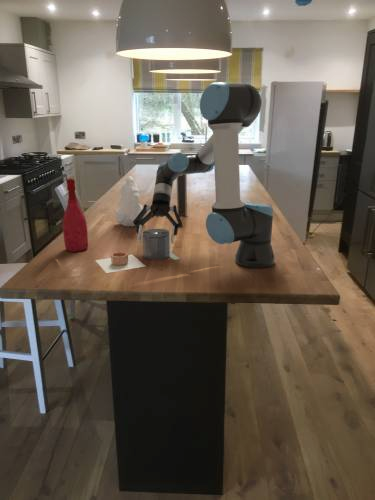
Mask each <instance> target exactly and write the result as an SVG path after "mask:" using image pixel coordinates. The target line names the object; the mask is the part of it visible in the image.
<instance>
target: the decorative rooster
mask: <svg viewBox="0 0 375 500" xmlns="http://www.w3.org/2000/svg"><path fill="white" fill-rule="evenodd" d="M140 201H141V195H140V190H139V186H138V185H137V183H136V182H135V179H134V178H133V176H131V175H130V176H127V177H126V178H125V181H124V182H123V183H122V185H121V189H120V200H119V203H118V206H119V207H118V208H117V209H116V211H115V220H116V222H117V223H118V224H120V225H122V226H123V227H130V226H131V227H133V226H134V227H136V226H135V225H134V223H133V221H134V220H135V219H136V217H137V216H138V215H139V213H140V212H141V211H142V209H143V207H144V206H143V205H142V204H141V202H140ZM146 215H147V213H146V214H145V215H144V217H145V216H146ZM144 217H143V218H144Z"/></svg>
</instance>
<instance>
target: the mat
mask: <svg viewBox="0 0 375 500" xmlns="http://www.w3.org/2000/svg"><path fill="white" fill-rule="evenodd" d="M169 258H170V259H172V260H175V261H177V260H180V259H181V258H180V257H179V256H176V255H175V253H173V252H171V251H170V256H169Z"/></svg>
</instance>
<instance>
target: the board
mask: <svg viewBox="0 0 375 500" xmlns="http://www.w3.org/2000/svg"><path fill="white" fill-rule="evenodd" d="M94 261H95V262H96V263H97V265H98V266H99V267H100V268H101V269H102V270H103V272H105V273H106V274H110V273H115V272H116V273H117V272H121V271H127V270H133V269H138V268H139V269H140V268H144V267H146V265H145V264H144V263H142V261H140V260H139V259H138V258H137V257H136V256H134V255H133V254H128V263H127V264H125V265H121V266H116V265H114V264H112V262H111V257H108V258H101V259H96V260H94Z"/></svg>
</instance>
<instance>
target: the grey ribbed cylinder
mask: <svg viewBox="0 0 375 500" xmlns="http://www.w3.org/2000/svg"><path fill="white" fill-rule="evenodd" d="M170 233H171V232H170V231H169V230H168V229H165V228H164V229H163V228H151V229H146V230H144V231H142V254H143V255H142V256H143V258H145V259H147V260H151V261H157V260H158V261H161V260H165V259H168V258H170V252H171V247H170V245H171V244H170V243H171V235H170Z"/></svg>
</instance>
